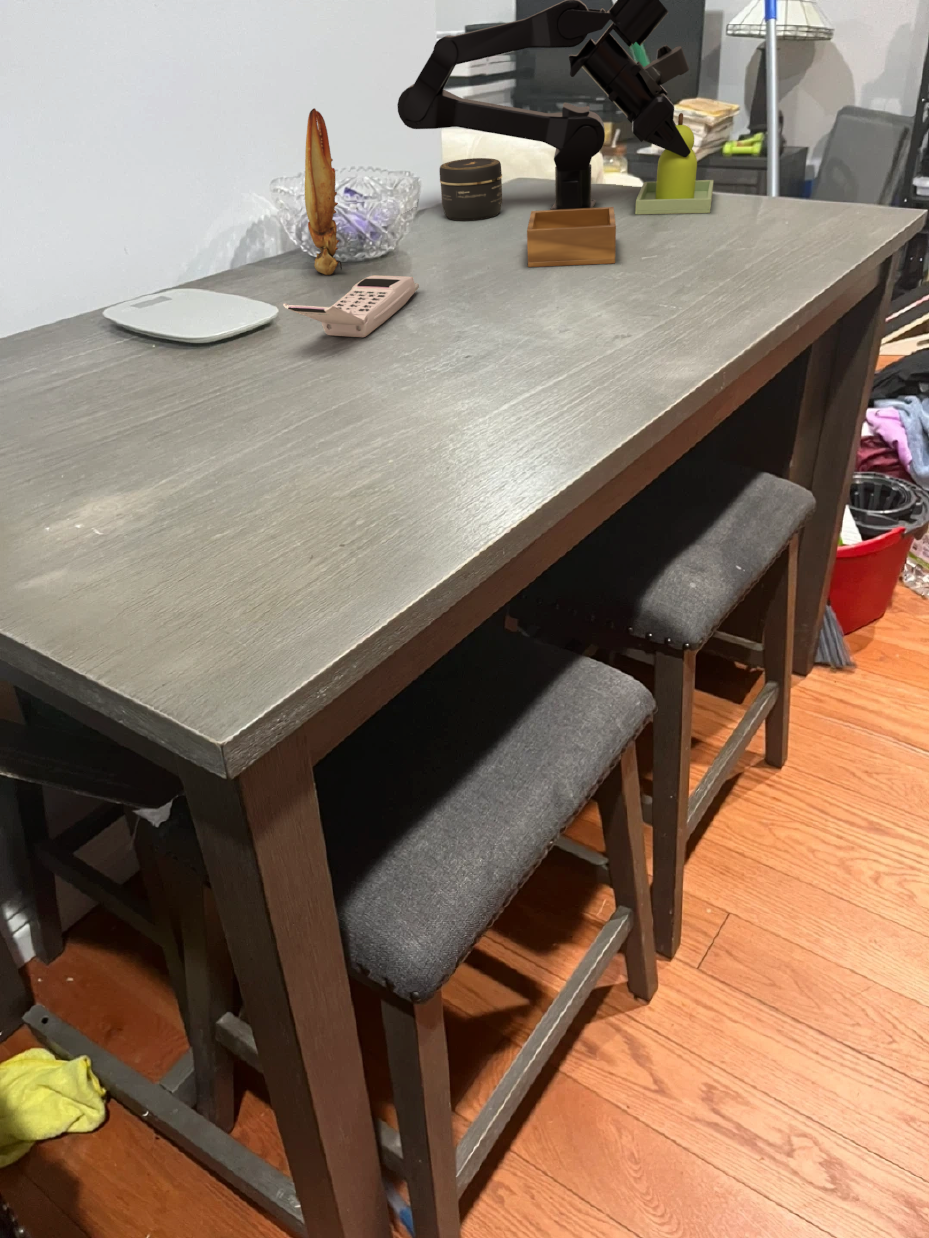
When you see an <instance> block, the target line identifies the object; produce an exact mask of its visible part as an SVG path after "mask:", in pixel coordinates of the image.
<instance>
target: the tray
mask: <svg viewBox="0 0 929 1238" xmlns="http://www.w3.org/2000/svg"><path fill="white" fill-rule="evenodd" d="M714 182H715V181H714V179H702V180H701V179H700V180H697V179H696V181H695V192H694V198H692V199H655V198H656V183H657V181H643V183H642V186H641V188H640V190H639V191H638V195H637V197H636V199H635V209H634V211H635V213H634V214H635V215H674V214H675V215H677V214H679V215H681V214H710V213H711V207H712V202H713V201H712V200H713V193H714V192H713V191H714Z"/></svg>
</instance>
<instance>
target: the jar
mask: <svg viewBox="0 0 929 1238" xmlns="http://www.w3.org/2000/svg"><path fill="white" fill-rule="evenodd" d="M502 178H503V173H502V164H501V161H500V160H499V159H496V158H489V157H487V158H486V157H474V158H473V157H472V158H463V159H456V160H455V159H454V160H451V161H447V162H444V163H442V164H441V165H440V166H439V183H440V193H441V203H442V209H443V212H444V214H445V216H446V217H447V218H448V219H449V220H453V221H462V222H464V221H465V222H466V221H467V222H469V221H480V220H486V219H487V220H488V219H490V218H494V217H496V216H498V215H499V213H500V212H501V211H502V205H503V183H502V182H503V179H502Z"/></svg>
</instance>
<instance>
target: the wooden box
mask: <svg viewBox="0 0 929 1238" xmlns="http://www.w3.org/2000/svg"><path fill="white" fill-rule="evenodd" d="M615 215H616V214H615V208H614V206H603V207H602V206H601V207H593V208H581V209H562V210H551V209H545V210H544V209H543V210H531V212H530V214H529V219H528V225H527V229H526V244H527V247H526V248H527V250H526V251H527V267H528V268H538V267H562V266H565V267H566V266H584V265H585V266H587V265H605V264H615V263H616V239H617V238H616V237H617V223H616V216H615Z"/></svg>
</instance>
